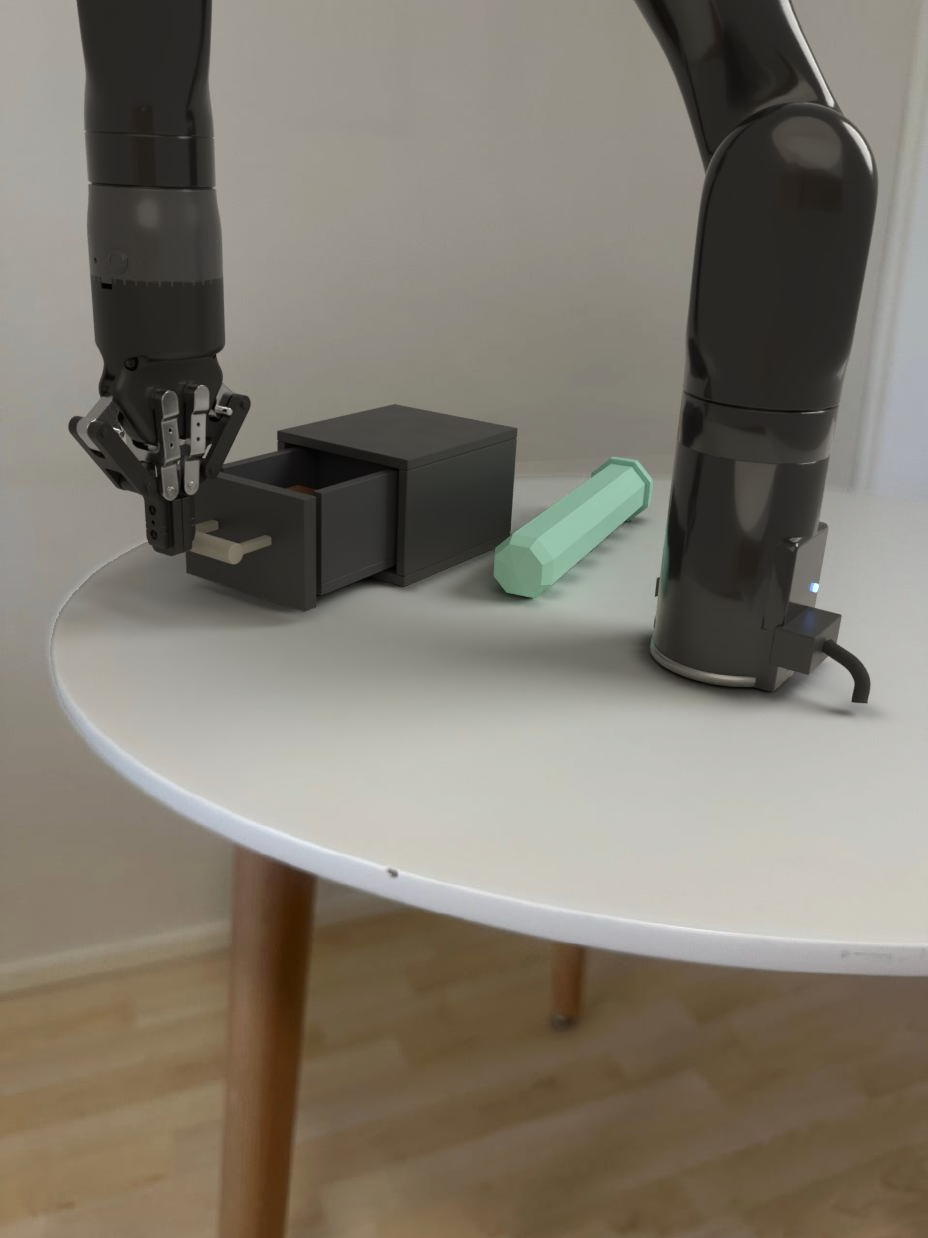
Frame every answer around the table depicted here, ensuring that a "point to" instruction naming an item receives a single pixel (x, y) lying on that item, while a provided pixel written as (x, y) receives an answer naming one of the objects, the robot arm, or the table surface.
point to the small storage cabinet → (429, 480)
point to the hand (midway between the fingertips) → (171, 551)
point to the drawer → (295, 525)
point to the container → (572, 527)
